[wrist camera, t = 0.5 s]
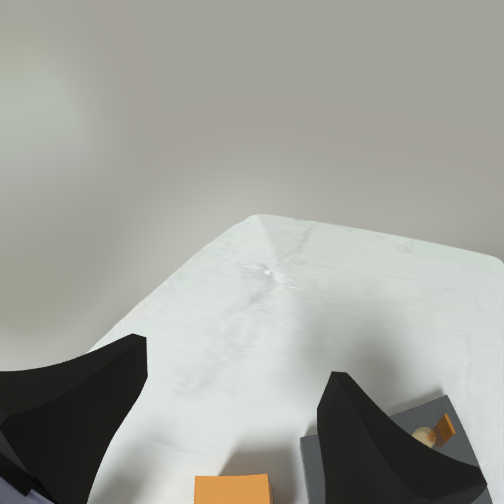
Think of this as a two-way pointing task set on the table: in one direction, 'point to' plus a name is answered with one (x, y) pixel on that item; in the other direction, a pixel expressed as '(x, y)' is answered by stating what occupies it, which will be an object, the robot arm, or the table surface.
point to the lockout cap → (233, 489)
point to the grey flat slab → (417, 425)
